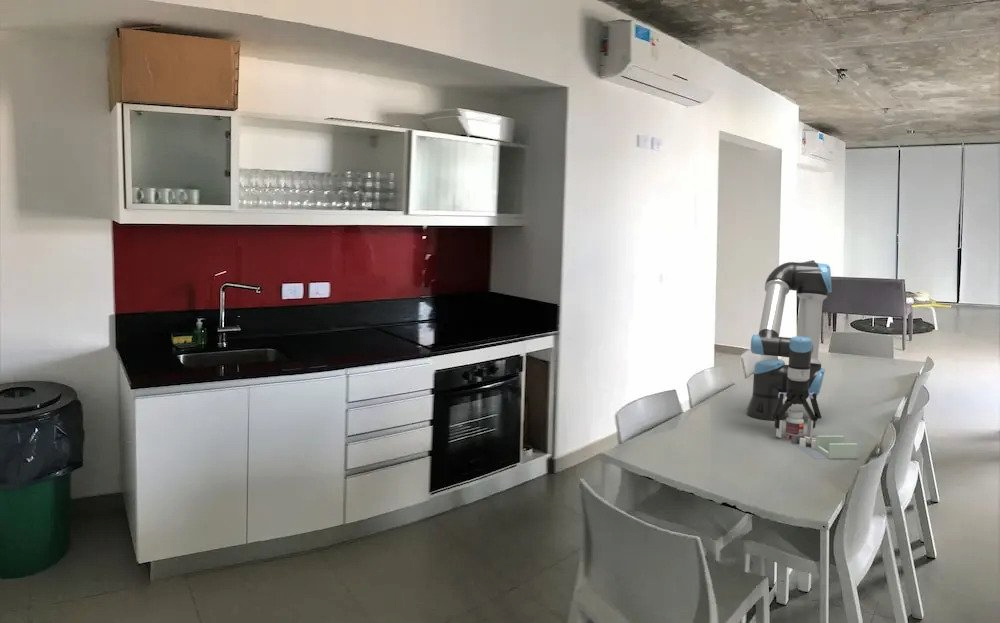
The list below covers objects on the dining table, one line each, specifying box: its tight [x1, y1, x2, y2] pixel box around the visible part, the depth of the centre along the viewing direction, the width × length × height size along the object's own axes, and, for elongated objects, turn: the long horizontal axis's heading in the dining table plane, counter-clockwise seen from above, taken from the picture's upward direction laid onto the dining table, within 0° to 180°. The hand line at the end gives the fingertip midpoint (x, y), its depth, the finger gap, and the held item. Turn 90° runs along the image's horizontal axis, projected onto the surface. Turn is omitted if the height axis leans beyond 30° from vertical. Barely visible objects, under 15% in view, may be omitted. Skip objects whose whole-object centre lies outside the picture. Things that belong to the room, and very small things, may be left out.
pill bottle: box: [784, 409, 805, 441], centre depth 270 cm, size 6×6×11 cm
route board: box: [791, 434, 858, 460], centre depth 258 cm, size 19×15×4 cm
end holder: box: [815, 435, 859, 460], centre depth 253 cm, size 10×10×5 cm
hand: (793, 436), depth 271 cm, fingers open, 11 cm apart
